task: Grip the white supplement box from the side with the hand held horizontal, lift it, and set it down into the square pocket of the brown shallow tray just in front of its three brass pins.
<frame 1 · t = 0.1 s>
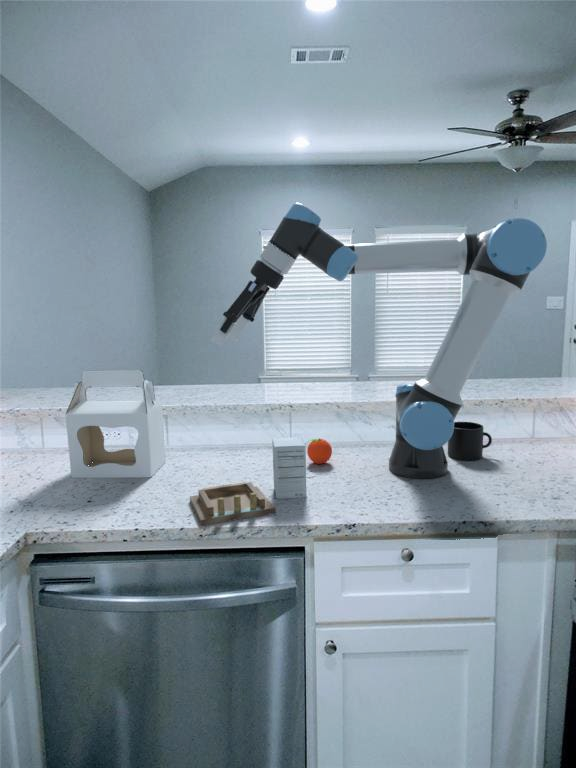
hand: (224, 341, 124), 36 cm above the worktop, tool tilted 35°, fingers open, 13 cm apart
gable box: (120, 470, 141), on the worktop
clementine: (317, 463, 143), on the worktop
supplement box: (289, 493, 121), on the worktop
mug: (469, 456, 146), on the worktop
brown shallow tray: (231, 507, 113), on the worktop
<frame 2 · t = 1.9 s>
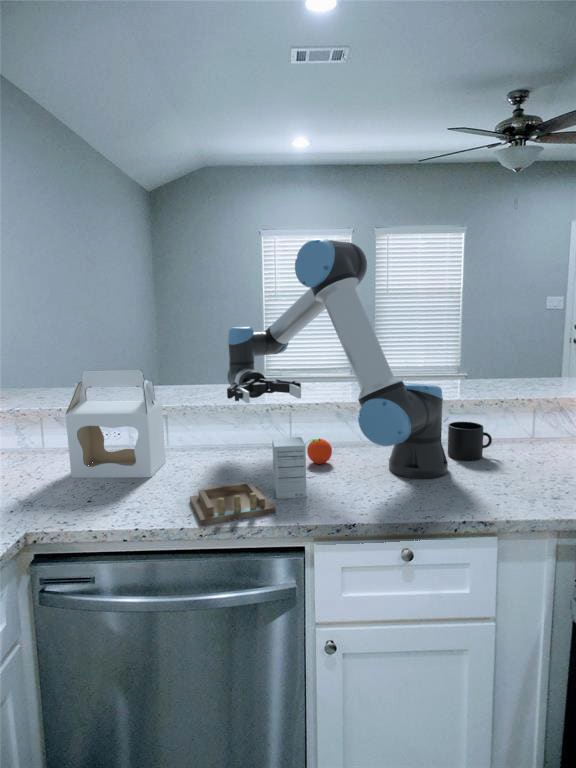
hand: (274, 395, 126), 22 cm above the worktop, tool horizontal, fingers open, 13 cm apart
nothing on the worktop moved.
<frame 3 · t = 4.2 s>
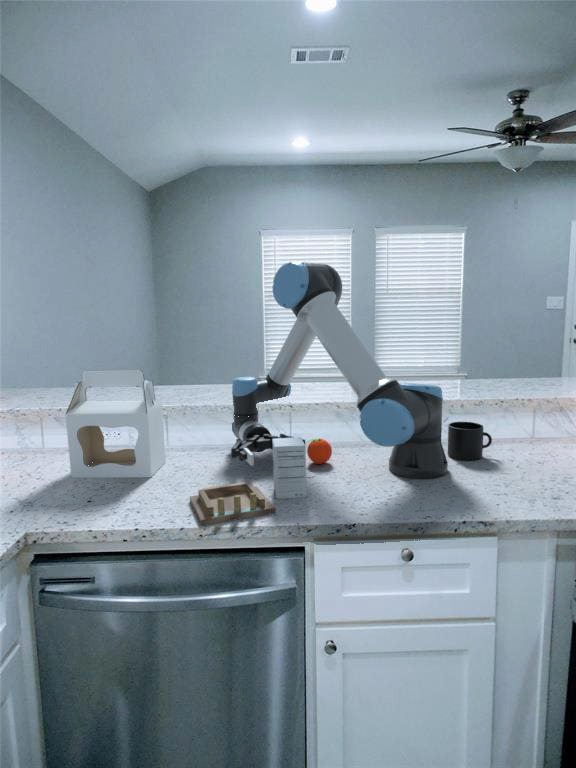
hand: (278, 456, 126), 7 cm above the worktop, tool horizontal, fingers open, 13 cm apart
nothing on the worktop moved.
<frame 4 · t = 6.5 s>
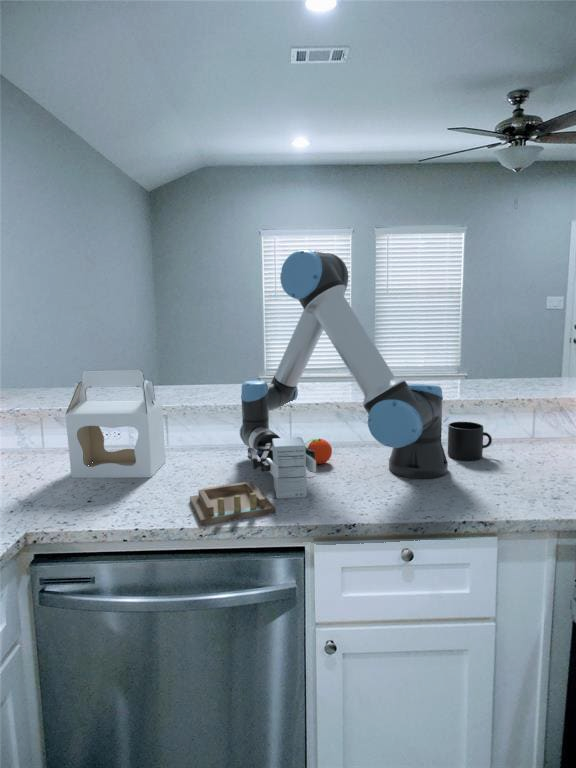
hand: (295, 469, 116), 7 cm above the worktop, tool horizontal, fingers closed on supplement box, 8 cm apart
supplement box: (289, 493, 121), on the worktop, touching gripper
everything else where it was.
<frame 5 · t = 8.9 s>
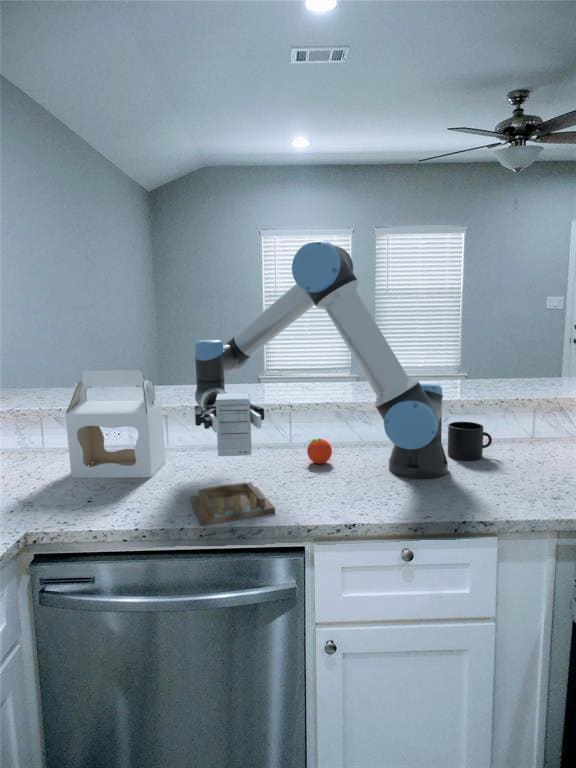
hand: (238, 424, 108), 19 cm above the worktop, tool horizontal, fingers closed on supplement box, 8 cm apart
supplement box: (235, 452, 113), point 12 cm above the worktop, touching gripper
everything else where it was.
when the fingers open (10 cm above the worktop, at t = 11.3 s): supplement box drops 1 cm, resting on brown shallow tray.
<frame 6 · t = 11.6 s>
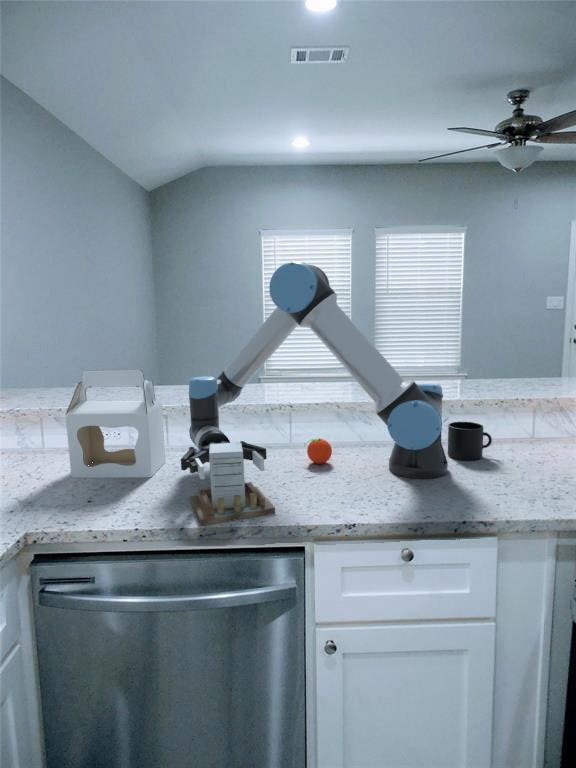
hand: (233, 469, 108), 10 cm above the worktop, tool horizontal, fingers open, 12 cm apart
supplement box: (228, 502, 113), point 1 cm above the worktop, touching brown shallow tray
everything else where it was.
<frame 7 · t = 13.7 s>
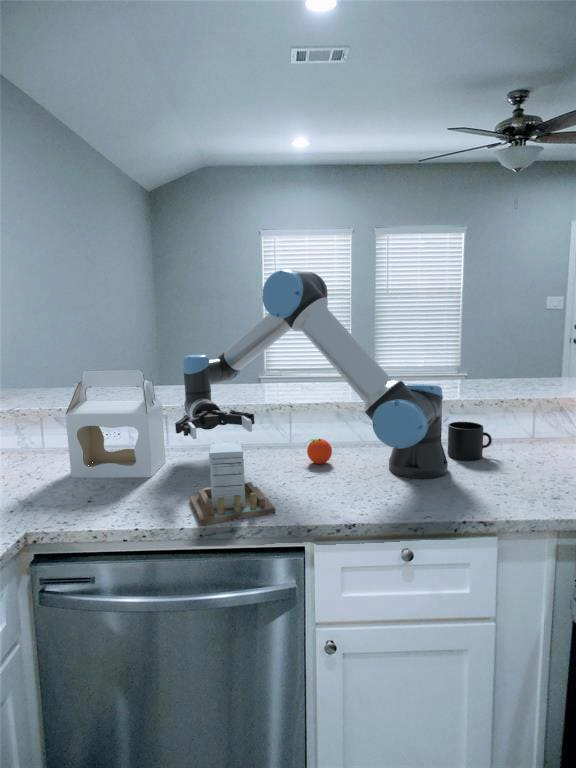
hand: (223, 429, 122), 15 cm above the worktop, tool horizontal, fingers open, 13 cm apart
nothing on the worktop moved.
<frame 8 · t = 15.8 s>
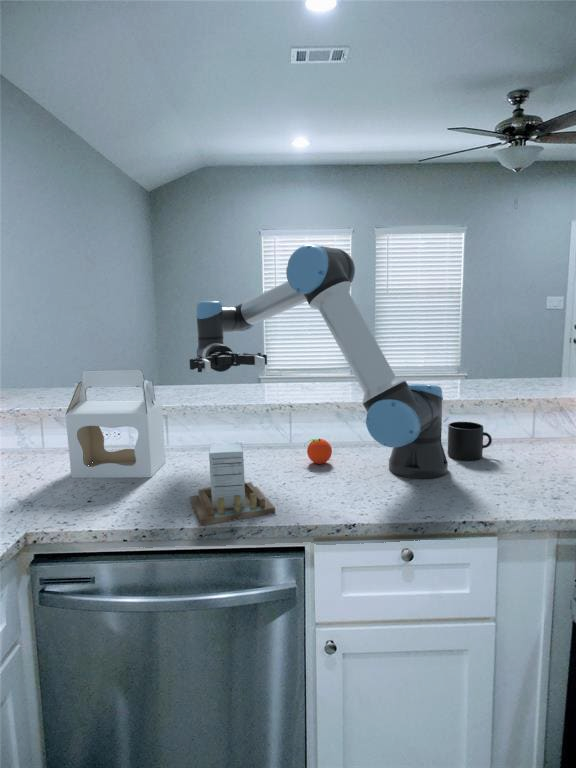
hand: (236, 365, 123), 30 cm above the worktop, tool horizontal, fingers open, 13 cm apart
nothing on the worktop moved.
at the end: supplement box 0.5 cm off-centre on the brown shallow tray, point 1.0 cm above the brown shallow tray's base; supplement box tilted 0°; the gripper is holding nothing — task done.
